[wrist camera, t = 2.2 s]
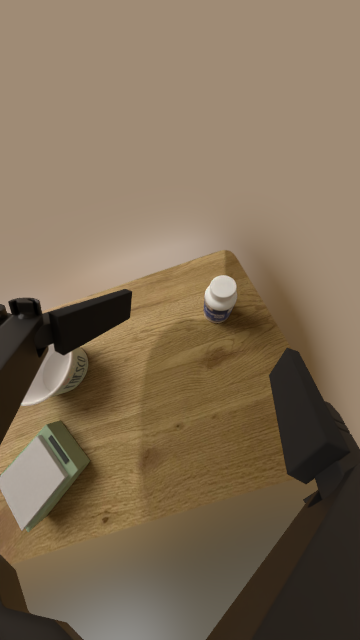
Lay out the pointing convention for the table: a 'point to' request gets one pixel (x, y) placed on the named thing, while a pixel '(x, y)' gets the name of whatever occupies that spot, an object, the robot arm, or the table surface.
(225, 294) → the pill bottle
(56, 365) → the food container
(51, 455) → the scale
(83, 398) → the table surface
